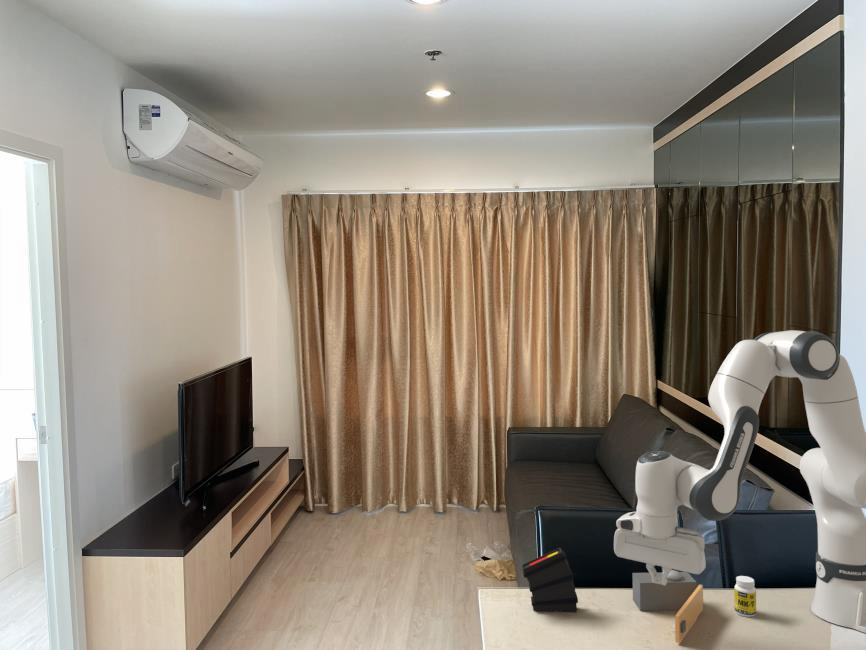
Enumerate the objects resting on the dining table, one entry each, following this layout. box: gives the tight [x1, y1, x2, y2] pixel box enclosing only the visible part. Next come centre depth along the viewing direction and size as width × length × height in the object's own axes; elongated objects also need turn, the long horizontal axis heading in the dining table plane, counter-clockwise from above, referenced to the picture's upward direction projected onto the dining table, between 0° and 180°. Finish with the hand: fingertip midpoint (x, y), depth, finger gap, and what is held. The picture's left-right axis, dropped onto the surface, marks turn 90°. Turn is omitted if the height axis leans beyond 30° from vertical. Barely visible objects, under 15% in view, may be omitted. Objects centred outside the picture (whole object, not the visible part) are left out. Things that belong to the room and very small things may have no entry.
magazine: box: [521, 547, 579, 613], centre depth 161 cm, size 4×13×15 cm, turn 84°
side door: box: [674, 583, 704, 644], centre depth 151 cm, size 20×1×6 cm, turn 143°
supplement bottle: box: [733, 575, 757, 618], centre depth 157 cm, size 5×5×8 cm
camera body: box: [632, 569, 698, 612], centre depth 162 cm, size 14×6×8 cm, turn 90°
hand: (659, 583), depth 148 cm, fingers closed
